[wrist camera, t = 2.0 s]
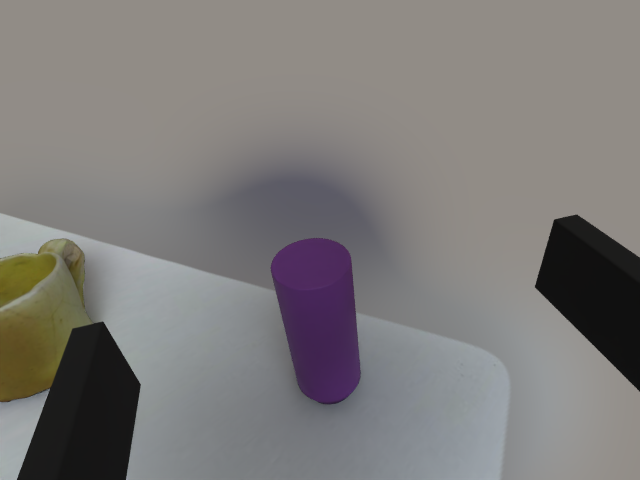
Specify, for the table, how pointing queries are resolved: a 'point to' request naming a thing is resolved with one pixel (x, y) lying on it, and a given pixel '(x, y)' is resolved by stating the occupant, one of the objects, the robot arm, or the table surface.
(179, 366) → the table surface
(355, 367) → the cylinder
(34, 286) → the mug
